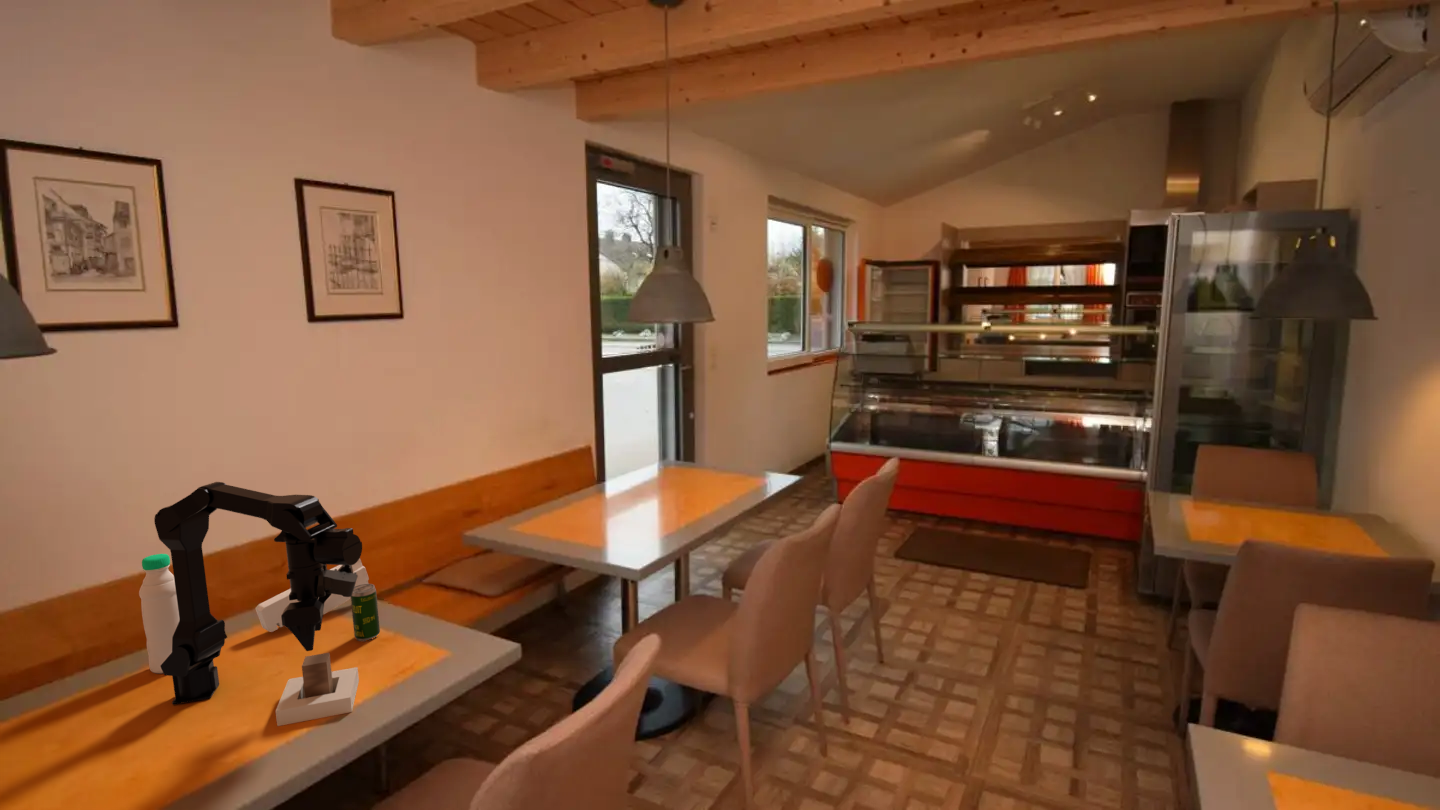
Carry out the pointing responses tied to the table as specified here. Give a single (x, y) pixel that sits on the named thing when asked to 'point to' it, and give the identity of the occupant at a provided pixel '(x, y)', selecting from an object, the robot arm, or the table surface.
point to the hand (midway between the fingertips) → (313, 640)
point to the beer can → (365, 612)
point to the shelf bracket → (275, 606)
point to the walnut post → (317, 675)
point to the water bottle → (158, 609)
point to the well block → (317, 699)
